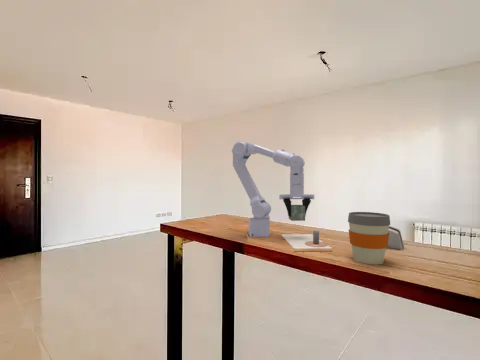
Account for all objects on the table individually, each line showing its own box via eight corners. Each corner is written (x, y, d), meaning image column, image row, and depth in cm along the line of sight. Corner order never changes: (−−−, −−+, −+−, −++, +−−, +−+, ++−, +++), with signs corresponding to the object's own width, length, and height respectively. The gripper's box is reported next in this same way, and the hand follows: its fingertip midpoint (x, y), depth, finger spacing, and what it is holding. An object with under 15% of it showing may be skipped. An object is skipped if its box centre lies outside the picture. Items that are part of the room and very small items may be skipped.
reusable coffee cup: (353, 252, 97) (354, 210, 97) (393, 259, 89) (393, 214, 89) (342, 260, 87) (342, 214, 87) (385, 269, 79) (385, 218, 79)
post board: (294, 251, 97) (294, 234, 97) (281, 237, 121) (281, 223, 121) (332, 251, 98) (332, 234, 98) (312, 236, 122) (312, 223, 122)
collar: (291, 220, 111) (291, 206, 111) (288, 218, 117) (288, 204, 117) (305, 220, 112) (305, 206, 111) (301, 218, 117) (301, 204, 117)
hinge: (405, 247, 105) (403, 224, 102) (402, 253, 102) (400, 229, 99) (360, 240, 116) (357, 219, 114) (356, 245, 113) (354, 224, 110)
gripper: (281, 184, 110) (281, 217, 110) (316, 184, 110) (316, 217, 111) (278, 184, 117) (278, 215, 117) (311, 184, 117) (311, 215, 118)
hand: (296, 216), depth 114 cm, fingers closed on collar, 6 cm apart
